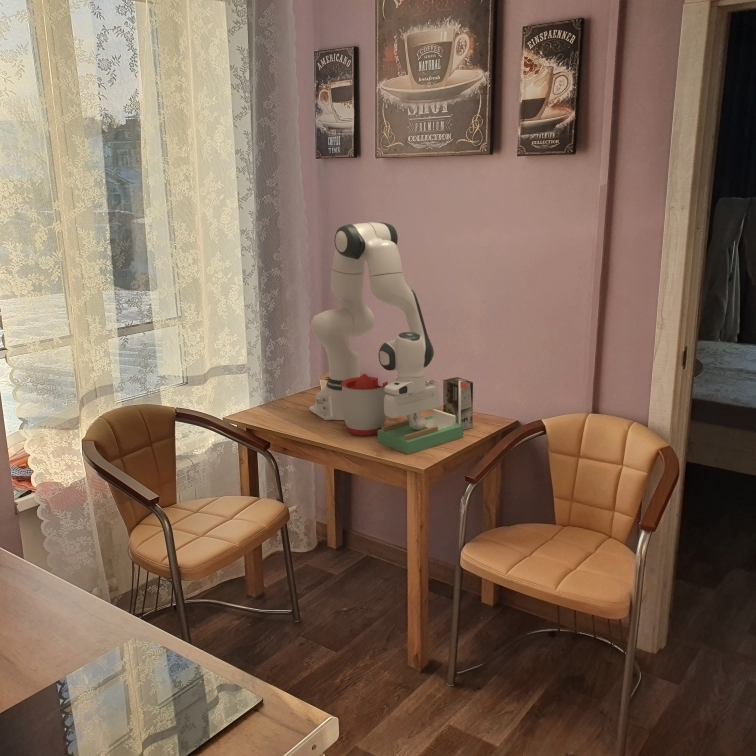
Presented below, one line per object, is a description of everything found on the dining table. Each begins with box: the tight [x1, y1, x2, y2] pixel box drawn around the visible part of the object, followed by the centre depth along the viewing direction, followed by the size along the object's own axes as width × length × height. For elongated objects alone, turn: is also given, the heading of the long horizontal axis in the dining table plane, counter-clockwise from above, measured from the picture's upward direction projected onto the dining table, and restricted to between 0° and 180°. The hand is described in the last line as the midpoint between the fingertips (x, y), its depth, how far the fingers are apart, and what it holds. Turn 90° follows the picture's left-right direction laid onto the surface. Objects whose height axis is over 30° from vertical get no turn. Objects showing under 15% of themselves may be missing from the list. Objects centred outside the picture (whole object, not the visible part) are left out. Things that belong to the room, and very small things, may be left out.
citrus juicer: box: [341, 373, 389, 437], centre depth 261 cm, size 16×17×20 cm
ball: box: [412, 414, 426, 430], centre depth 250 cm, size 5×5×5 cm
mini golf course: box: [377, 381, 467, 455], centre depth 251 cm, size 17×24×19 cm
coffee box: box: [442, 377, 474, 431], centre depth 265 cm, size 9×6×16 cm
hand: (413, 426), depth 248 cm, fingers closed, pressing on ball
